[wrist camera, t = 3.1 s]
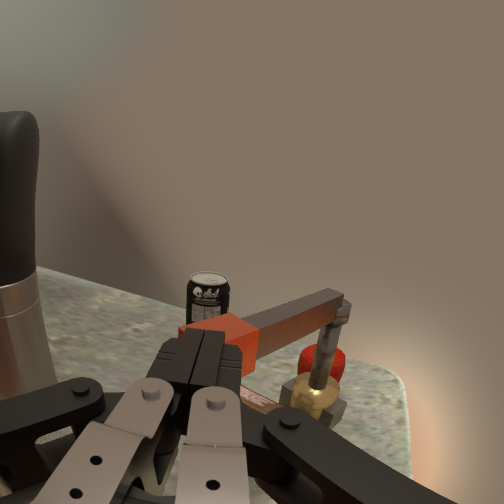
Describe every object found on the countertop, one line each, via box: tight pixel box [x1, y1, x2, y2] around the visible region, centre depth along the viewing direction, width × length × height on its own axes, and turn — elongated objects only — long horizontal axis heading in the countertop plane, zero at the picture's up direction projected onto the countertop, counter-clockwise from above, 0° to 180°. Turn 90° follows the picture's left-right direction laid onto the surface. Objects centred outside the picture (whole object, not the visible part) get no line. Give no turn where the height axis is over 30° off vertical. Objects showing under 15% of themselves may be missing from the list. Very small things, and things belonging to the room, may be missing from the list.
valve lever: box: [178, 288, 352, 377], centre depth 23 cm, size 18×3×3 cm, turn 134°
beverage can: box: [186, 271, 230, 325], centre depth 48 cm, size 7×7×12 cm
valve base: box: [279, 324, 347, 429], centre depth 31 cm, size 7×5×15 cm
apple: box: [298, 344, 345, 383], centre depth 39 cm, size 6×6×8 cm
